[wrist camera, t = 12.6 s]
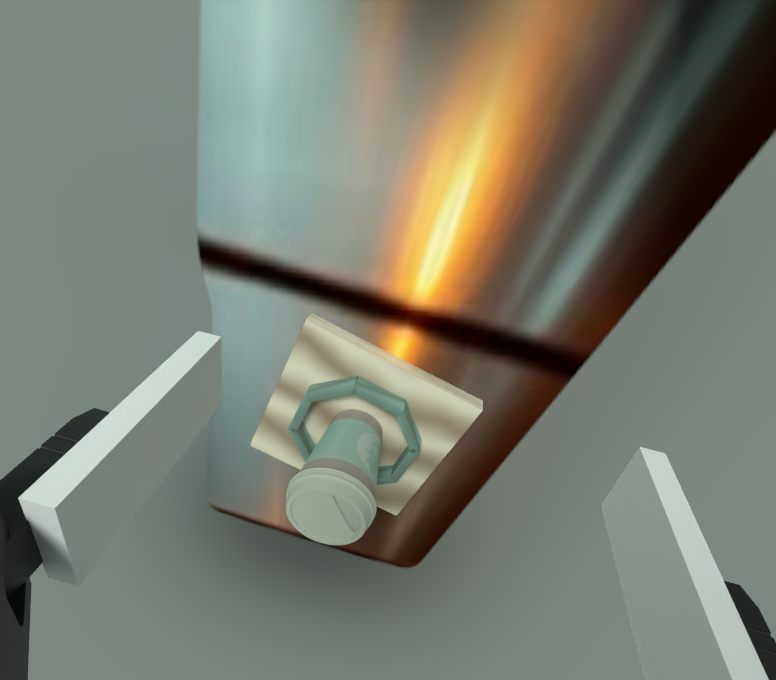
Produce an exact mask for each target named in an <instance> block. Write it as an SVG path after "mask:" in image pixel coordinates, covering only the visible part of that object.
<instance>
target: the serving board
mask: <svg viewBox="0 0 776 680" xmlns="http://www.w3.org/2000/svg"><path fill="white" fill-rule="evenodd" d="M349 409H356V410H361V411H364V412H366V413H368V414H370V415H372V416H373V417H374V418H375V419H376V420H377V421H378V422H379V424H380V425H381V428H382V442H381V451H380V460H379V468H378V476H377V485H376V493H375V502H376V506H377V507H379V508H381V509H383V510H385V511H387V512H389V513H392V514H394V515H396V516H397V515H398V513H399V512H400V511H401V510H402V508H403V507H404V506H405V505H406V504H407V502H408V501H409V500H410V499H411V497H412V496H413V495H414V494H415V493H416V491H417V490H418V489H419V488H420V487H421V485H422V484H423V483H424V482H425V480H426V479H427V478H428V477H429V476H430V474H431V473H432V472H433V471H434V469H435V468H436V467H437V466H438V465H439V463H440V462H441V461H442V460H443V458H444V457H445V456H446V455H447V454H448V452H449V451H450V450H451V449H452V448H453V446H454V445H455V444H456V443H457V441H458V440H459V439H460V438H461V437H462V435H463V434H464V433H465V432H466V430H467V429H468V428H469V427H470V426H471V424H472V423H473V422H474V421H475V419H476V418H477V417H478V416H479V415H480V413H481V412H482V411H483V401H482V400H480V399H478V398H476V397H474V396H472V395H470V394H468V393H466V392H464V391H463V390H461V389H459V388H457V387H455V386H453V385H451V384H449V383H447V382H445V381H443V380H441V379H439V378H437V377H435V376H433V375H431V374H429V373H427V372H426V371H424V370H422V369H420V368H418V367H416V366H414V365H412V364H410V363H408V362H406V361H404V360H402V359H400V358H398V357H396V356H394V355H392V354H391V353H389V352H387V351H385V350H383V349H381V348H379V347H377V346H375V345H373V344H371V343H369V342H367V341H365V340H363V339H361V338H359V337H357V336H355V335H354V334H352V333H350V332H348V331H346V330H344V329H342V328H340V327H338V326H336V325H334V324H332V323H330V322H328V321H326V320H324V319H322V318H320V317H318V316H317V315H315V314H313V313H311V314H310V315H309V317H308V318H307V319H306V321H305V324H304V326H303V328H302V330H301V332H300V335H299V337H298V339H297V341H296V344H295V346H294V348H293V350H292V353H291V355H290V357H289V359H288V362H287V364H286V366H285V368H284V371H283V373H282V375H281V377H280V380H279V382H278V384H277V386H276V388H275V391H274V393H273V395H272V397H271V400H270V402H269V404H268V406H267V409H266V411H265V413H264V415H263V418H262V420H261V422H260V424H259V427H258V429H257V431H256V433H255V435H254V438H253V440H252V442H251V444H250V446H252V447H254V448H256V449H258V450H260V451H262V452H265V453H267V454H269V455H271V456H273V457H275V458H277V459H279V460H281V461H283V462H285V463H287V464H290V465H292V466H294V467H296V468H298V469H300V470H301V469H302V467H303V465H304V464H305V462H306V461H307V459H308V458H309V456H310V454H311V453H312V451H313V450H314V448H315V447H316V445H317V443H318V442H319V440H320V439H321V437H322V436H323V434H324V432H325V431H326V429H327V428H328V426H329V425H330V423H331V421H332V420H333V418H334V417H335V416H336V415H337V414H338V413H339V412H341V411H344V410H349Z"/></svg>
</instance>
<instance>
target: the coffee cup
mask: <svg viewBox="0 0 776 680" xmlns="http://www.w3.org/2000/svg"><path fill="white" fill-rule="evenodd" d="M381 442H382V428H381V425H380V424H379V422H378V421H377V420H376V419H375V418H374V417H373V416H372V415H370V414H368V413H366V412H364V411H361V410H356V409H349V410H344V411H341V412H339V413H338V414H337V415H336V416H335V417H334V418H333V420H332V421H331V423H330V425H329V426H328V428H327V429H326V431H325V432H324V434H323V436H322V437H321V439H320V440H319V442H318V443H317V445H316V447H315V448H314V450H313V451H312V453H311V454H310V456H309V458H308V459H307V461H306V462H305V464H304V465H303V467H302V469H301V470H300V472H299V473H298V474H296V475H295V476H294V477H293V478H292V479H291V480H290V482H289V485H288V489H287V493H286V501H287V503H286V513H287V516H288V519H289V521H290V522H291V523H292V525H293V526H294V527H295V528H296V529H297V530H298V531H299V532H300V533H302V534H303V535H305V536H306V537H308V538H310V539H312V540H315V541H317V542H320V543H324V544H329V545H345V544H350V543H352V542H355V541H356V540H358V539H359V538H360V537H362V535H363V534H364V532H365V531H366V530H367V529H368V528H369V526H370V525H371V524H372V521H373V519H374V517H375V515H376V502H375V493H376V485H377V476H378V468H379V460H380V451H381Z"/></svg>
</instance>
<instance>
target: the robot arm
mask: <svg viewBox="0 0 776 680" xmlns="http://www.w3.org/2000/svg"><path fill="white" fill-rule="evenodd" d="M221 404H222V366H221V337H219V336H215V335H211V334H207V333H203V332H199V331H198V332H197V333H196V334H194V335H193V336H192V337H191V338H190V339H189V340H188V341H187V342H186V343H185V344H184V345H183V346H181V347H180V348H179V349H178V350H177V351H176V352H175V353H174V354H173V355H172V356H171V357H170V358H169V359H167V360H166V361H165V362H164V363H163V364H162V365H161V366H160V367H159V368H158V369H157V370H156V371H154V372H153V373H152V374H151V375H150V376H149V377H148V378H147V379H146V380H145V381H144V382H143V383H142V384H141V385H139V386H138V387H137V388H136V389H135V390H134V391H133V392H132V393H131V394H130V395H129V396H128V397H127V398H125V399H124V400H123V401H122V402H121V403H120V404H119V405H118V406H117V407H116V408H115V409H114V410H112V411H111V412H106V411H103V410H99V409H96V408H94V409H92V410H89V411H87V412H85V413H83V414H82V415H80V416H77V417H75V418H73V419H71V420H70V421H69V422H68V423H67V424H66V425H64V426H63V427H62V428H61V429H60V430H59V431H57V432H56V433H55V436H54V437H53V436H52V437H50V438H49V439H48V440H47V441H46V442H45V443H43V444H42V445H41V448H40V449H37V450H35V451H34V452H33V453H32V454H31V455H29V456H28V457H27V458H26V459H25V460H24V461H22V462H21V463H20V464H19V465H18V466H17V467H15V468H14V469H13V470H12V471H11V472H10V473H8V474H7V475H6V476H5V477H4V478H3V479H1V480H0V680H28V654H29V628H30V604H31V582H30V578H29V577H30V576H31V575H32V574H33V572H34V571H35V570H36V569H37V568H38V567H39V566H40V565H41V563H43V566H44V569H45V571H46V574H47V577H49V578H52V579H55V580H58V581H62V582H65V583H69V584H72V585H75V586H78V587H79V586H80V585H81V584H82V583H83V581H84V580H85V579H86V577H87V576H88V575H89V574H90V572H91V571H92V570H93V568H94V567H95V566H96V565H97V563H98V562H99V561H100V559H101V558H102V557H103V555H104V554H105V553H106V552H107V550H108V549H109V548H110V547H111V545H112V544H113V543H114V542H115V540H116V539H117V538H118V536H119V535H120V534H121V532H122V531H123V530H124V529H125V527H126V526H127V525H128V524H129V522H130V521H131V520H132V518H133V517H134V516H135V515H136V513H137V512H138V511H139V509H140V508H141V507H142V506H143V504H144V503H145V502H146V500H147V499H148V498H149V496H150V495H151V494H152V493H153V491H154V490H155V489H156V488H157V486H158V485H159V484H160V482H161V481H162V480H163V479H164V477H165V476H166V475H167V474H168V472H169V471H170V470H171V468H172V467H173V466H174V465H175V463H176V462H177V461H178V459H179V458H180V457H181V455H182V454H183V453H184V452H185V450H186V449H187V448H188V446H189V445H190V444H191V443H192V441H193V440H194V439H195V438H196V436H197V435H198V434H199V432H200V431H201V430H202V428H203V427H204V426H205V425H206V423H207V422H208V421H209V420H210V418H211V417H212V416H213V414H214V413H215V412H216V411H217V409H218V408H219V407H220V405H221ZM600 507H601V511H602V514H603V518H604V522H605V526H606V530H607V534H608V538H609V542H610V546H611V550H612V554H613V557H614V561H615V565H616V569H617V573H618V577H619V581H620V585H621V589H622V593H623V597H624V600H625V604H626V608H627V612H628V616H629V620H630V624H631V627H632V632H633V636H634V640H635V644H636V647H637V651H638V655H639V659H640V663H641V667H642V671H643V675H644V679H645V680H776V642H775V640H774V638H772V637H771V636H770V634H771V632H770V630H769V628H768V626H767V624H766V622H765V620H764V618H763V616H762V614H761V612H760V610H759V608H758V607H757V606H756V605H755V603H754V602H753V601H752V600H751V599H750V597H749V596H748V595H747V594H746V592H745V591H744V590H743V589H742V587H741V586H740V585H737V584H734V583H730V582H726V581H723V578H722V576H721V574H720V572H719V570H718V567H717V565H716V563H715V561H714V559H713V557H712V554H711V552H710V550H709V548H708V546H707V543H706V541H705V539H704V537H703V535H702V532H701V530H700V528H699V526H698V524H697V522H696V519H695V517H694V515H693V513H692V511H691V508H690V506H689V504H688V502H687V500H686V498H685V495H684V493H683V491H682V489H681V486H680V484H679V482H678V480H677V478H676V475H675V473H674V472H673V469H672V467H671V464H670V462H669V460H668V458H667V456H666V454H665V453H661V452H658V451H654V450H650V449H646V448H642V447H639V449H638V450H637V452H636V453H635V455H634V456H633V458H632V459H631V461H630V462H629V464H628V465H627V467H626V468H625V470H624V471H623V473H622V475H621V476H620V477H619V479H618V481H617V482H616V483H615V485H614V486H613V488H612V489H611V491H610V492H609V494H608V496H607V497H606V498H605V500H604V502H603V503H602V504H601V506H600Z"/></svg>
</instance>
